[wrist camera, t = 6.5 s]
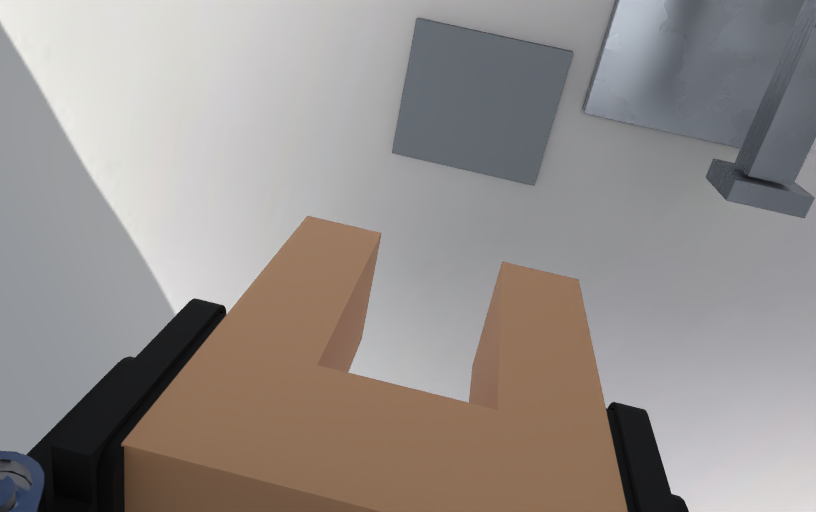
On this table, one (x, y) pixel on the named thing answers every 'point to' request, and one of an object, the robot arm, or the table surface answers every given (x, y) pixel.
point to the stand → (719, 86)
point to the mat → (479, 100)
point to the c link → (376, 404)
